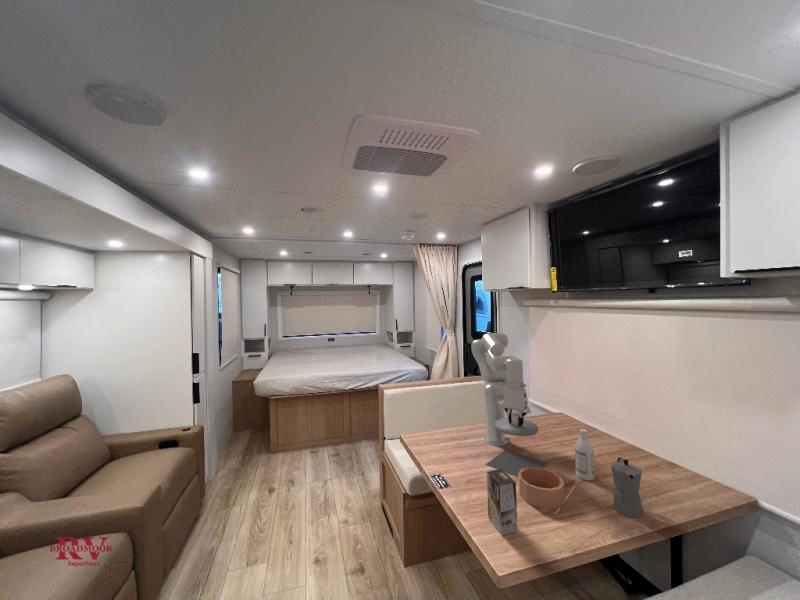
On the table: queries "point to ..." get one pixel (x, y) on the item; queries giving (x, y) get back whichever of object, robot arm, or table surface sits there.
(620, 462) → the coffeepot
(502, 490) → the coffee box
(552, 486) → the bowl
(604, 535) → the table surface
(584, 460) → the bath foam
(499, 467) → the mat
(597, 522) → the table surface
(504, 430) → the lid
